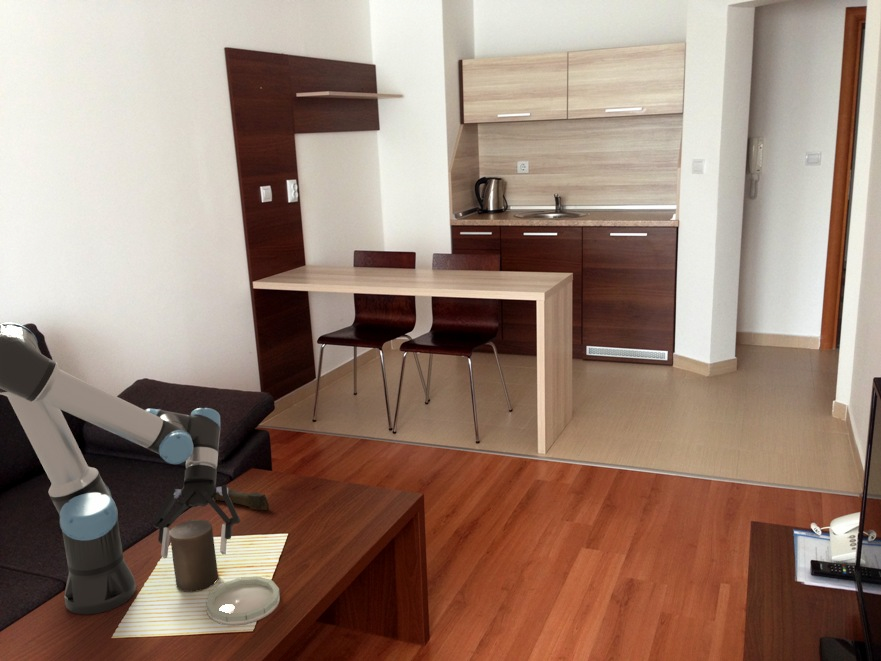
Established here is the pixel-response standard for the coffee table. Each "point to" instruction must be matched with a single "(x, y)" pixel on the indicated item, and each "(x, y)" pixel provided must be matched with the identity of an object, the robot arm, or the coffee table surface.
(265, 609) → the candle plate
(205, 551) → the pillar candle
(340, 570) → the coffee table surface
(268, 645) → the coffee table surface
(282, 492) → the coffee table surface
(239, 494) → the dark brown bark log
